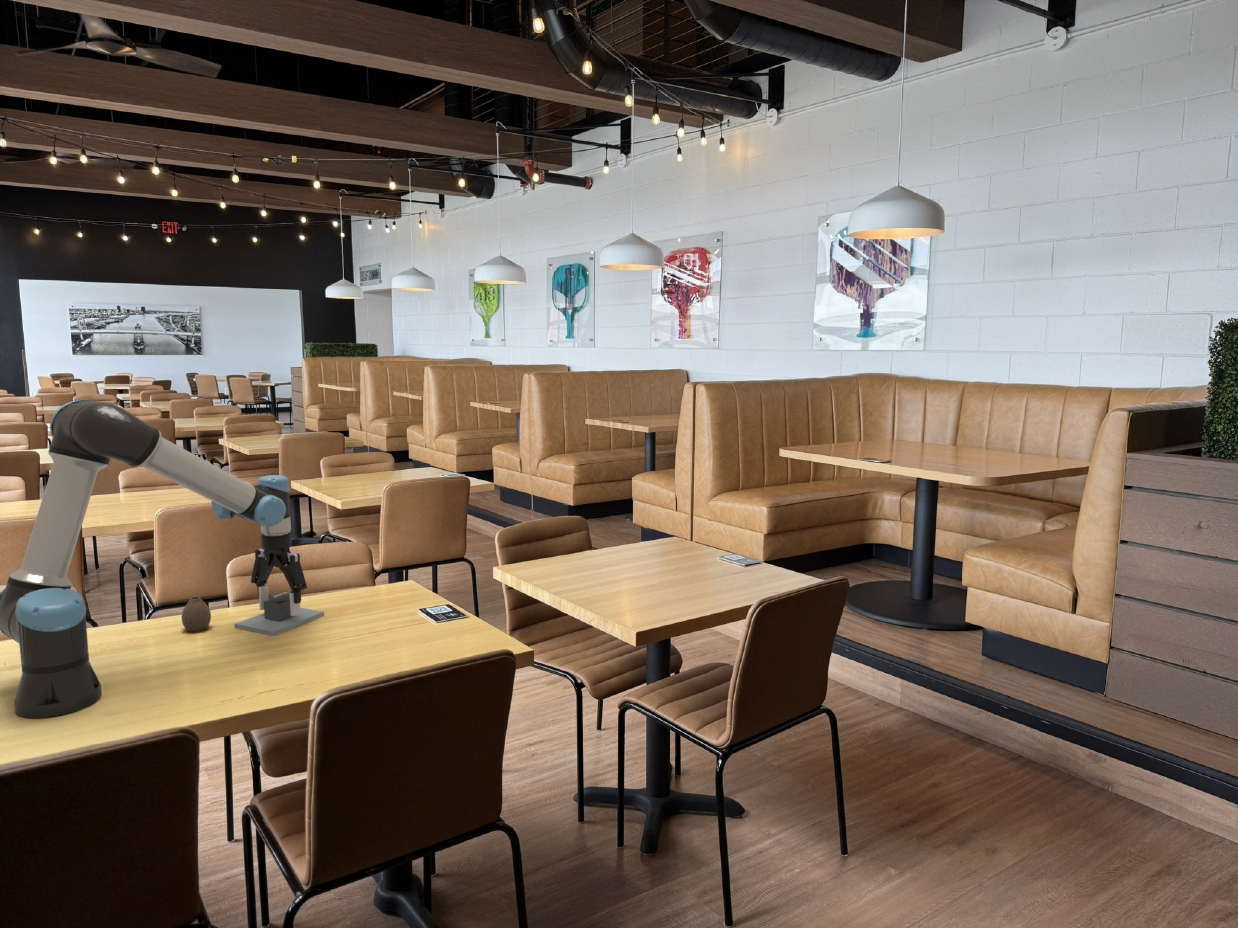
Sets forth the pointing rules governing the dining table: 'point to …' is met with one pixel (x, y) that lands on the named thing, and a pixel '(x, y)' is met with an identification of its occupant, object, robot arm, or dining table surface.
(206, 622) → the vase
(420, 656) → the dining table surface
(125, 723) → the dining table surface
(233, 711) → the dining table surface
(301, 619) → the gray rectangular base plate
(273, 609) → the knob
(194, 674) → the dining table surface
